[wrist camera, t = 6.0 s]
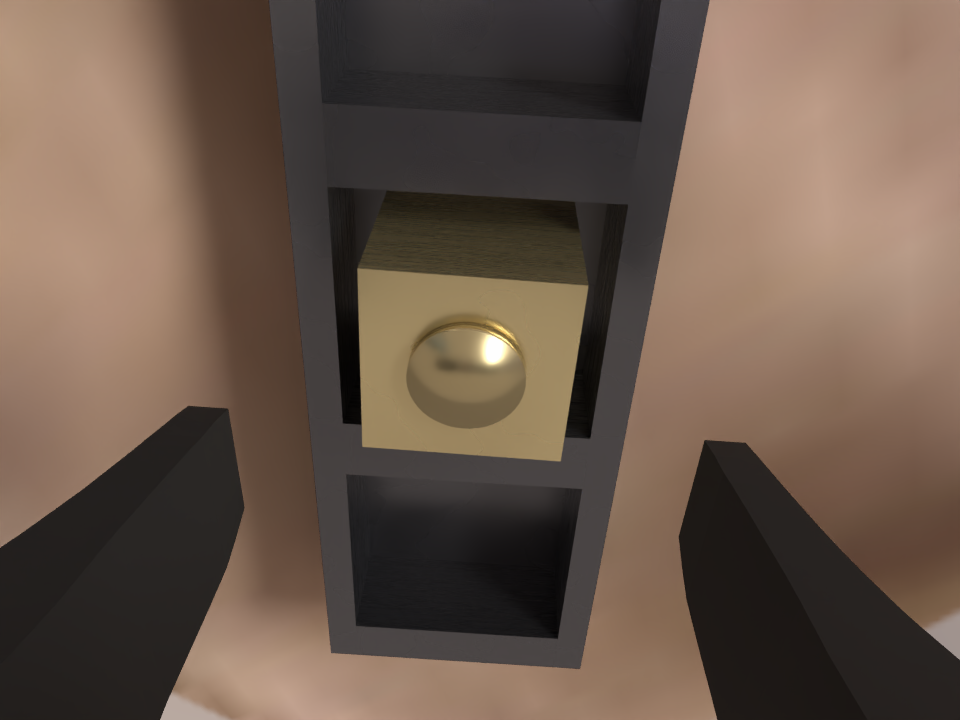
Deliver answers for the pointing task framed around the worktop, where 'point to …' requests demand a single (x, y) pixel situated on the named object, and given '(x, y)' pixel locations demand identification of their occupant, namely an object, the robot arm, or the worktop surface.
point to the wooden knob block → (470, 324)
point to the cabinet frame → (480, 172)
